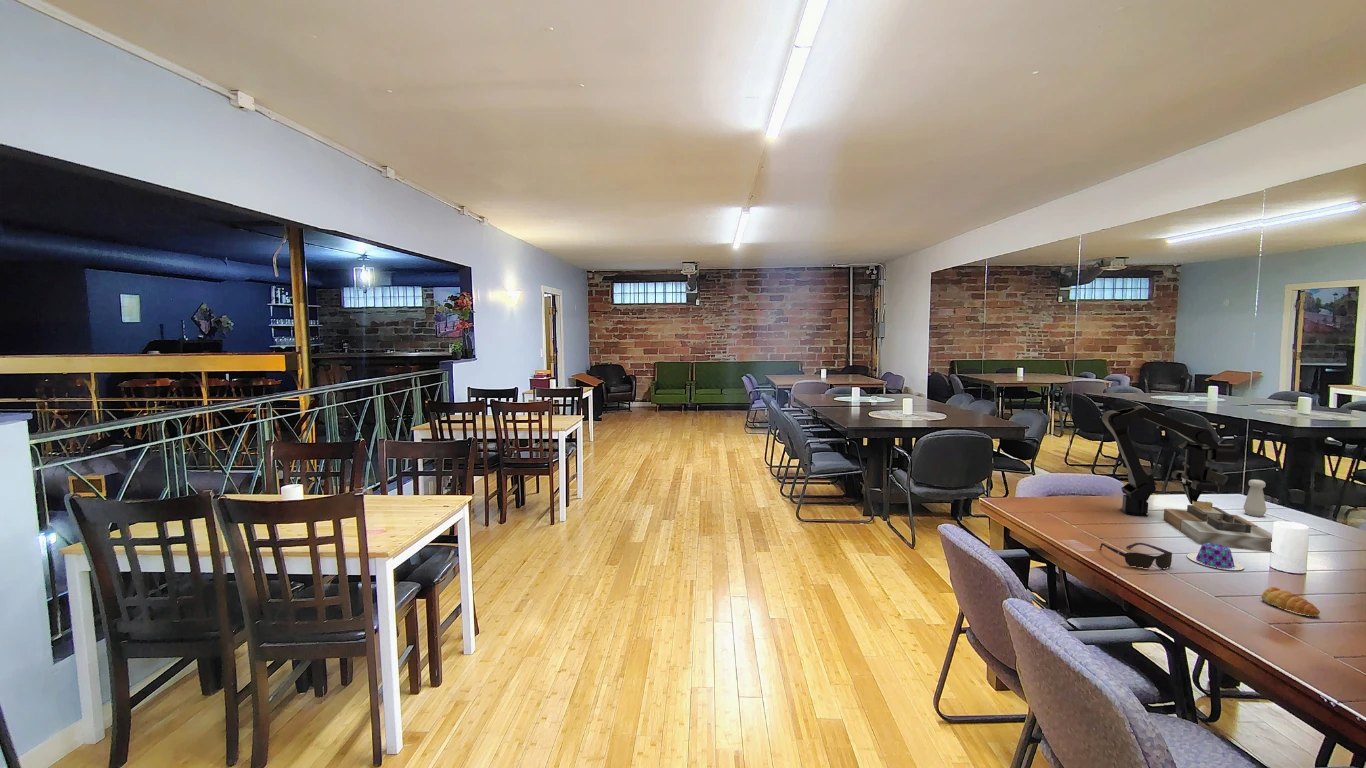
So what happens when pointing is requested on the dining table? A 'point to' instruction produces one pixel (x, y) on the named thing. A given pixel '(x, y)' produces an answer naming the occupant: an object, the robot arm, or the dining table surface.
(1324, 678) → the dining table surface
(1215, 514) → the bolt
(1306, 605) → the pastry
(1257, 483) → the salt shaker
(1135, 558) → the sunglasses
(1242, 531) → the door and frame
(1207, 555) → the purple patterned hat
